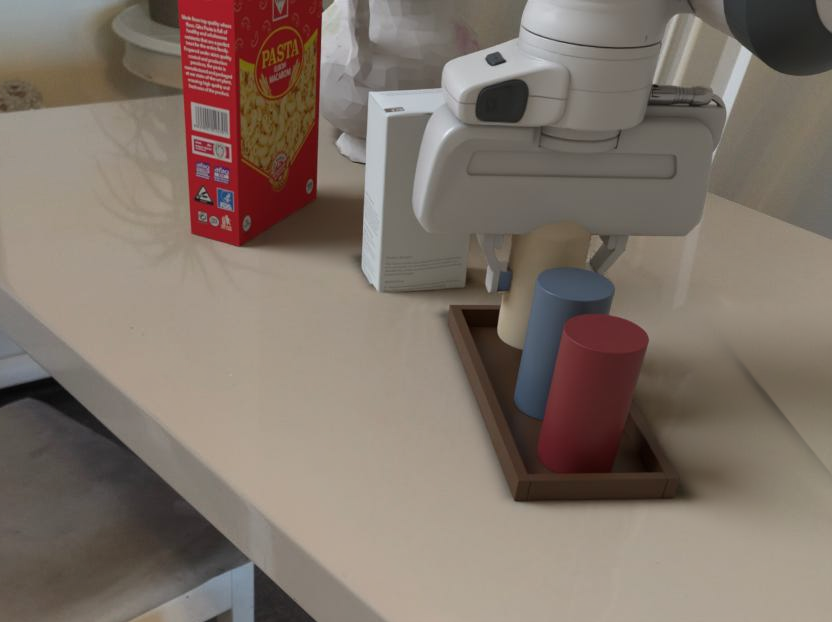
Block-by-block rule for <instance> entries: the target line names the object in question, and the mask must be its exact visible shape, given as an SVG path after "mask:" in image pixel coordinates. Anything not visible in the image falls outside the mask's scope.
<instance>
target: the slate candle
mask: <svg viewBox="0 0 832 622" xmlns="http://www.w3.org/2000/svg"><path fill="white" fill-rule="evenodd" d="M615 291H616V288H615V285H614V283H613V282H612V281H611V280H610V279H609V278H607V277H606V276H605V275H604V276H602V275H600V274H598V273H595V272H592V271H588V270H584V269H579V268H570V267H560V268H552V269H548V270H545V271H543V272H541V273H540V274H539V275H538V277H537V279H536V284H535V290H534V295H533V300H532V305H531V310H530V316H529V321H528V326H527V331H526V336H525V342H524V347H523V352H522V357H521V363H520V368H519V373H518V378H517V383H516V389H515V394H514V402H515V405H516V406H517V408H518V409H519V410H520V411H522V412H523V413H525V414H526V415H528V416H530V417H533V418H536V419H539V420H543V419H544V415H545V410H546V406H547V401H548V396H549V392H550V387H551V383H552V378H553V374H554V369H555V364H556V360H557V355H558V351H559V346H560V342H561V337H562V333H563V328H564V325H565V323H566V322H567V321H568V320H569V319H571V318H573V317H575V316H579V315H584V314H605V315H610V312H611V308H612V304H613V300H614V295H615V293H616V292H615Z"/></svg>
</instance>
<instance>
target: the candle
mask: <svg viewBox="0 0 832 622" xmlns="http://www.w3.org/2000/svg"><path fill="white" fill-rule="evenodd" d="M592 236H593V235H590V233H589V232H588V231H586V230H585V229H584V228H583V227H581V226H580V225H578V224H577V223H574V222H571V221H560V222H556V223H552V224H548V225H545V226H543V227H540V228H538V229H536V230H535V231H533V232H531V233H530V234H511V241H510V248H509V254H508V260H507V262H508V266H509V268H510V269H511V270H512V271H513V274H512V280H511V282H510V283H509V285H510V291H509V293H502V296H501V303H500V305H501V308H500V314H499V320H498V327H497V332H498V336H499V337H500V338H501V340H503V341H504V342H505V343H507V344H508V345H510V346H513V347H515V348H518V349H521V350H523V347H524V342H525V336H526V331H527V326H528V321H529V316H530V310H531V305H532V300H533V295H534V290H535V284H536V279H537V277H538V275H539V274H540V273H541V272H543V271H545V270H548V269H552V268H560V267H570V268H579V269H584V268H585V264H586V262H587V259H588V254H589V250H590V245H591V240H592Z"/></svg>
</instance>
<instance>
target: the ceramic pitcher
mask: <svg viewBox="0 0 832 622" xmlns="http://www.w3.org/2000/svg"><path fill="white" fill-rule="evenodd" d="M481 50H484V49H483V45H482V40H481V37H480V35H479V34H478V32H477V31H476V30H475V29H474V27H473V26H472V25H471V24H470V23H469V22H468V21H467V20H466V18H465V17H464V16H463V15H462V13H461V12H460V11H459V10H458V8H457V6H456V4H455V2H454V0H333V2H332V3H331V4H330V5H329V6H328V7H327V8H326V9H325V10H324V11H322V36H321V68H320V101H319V115H321V116H322V117H323V119H324V120H325V121H327V122H328V123H329V124H330V125H332V127H334V128H336V129H337V130H340V131H342V133H341V134H340V136H339V137H338V139H337V140H336V141H334V144H335V146H336V148H337V150H338V151H339V152H340V154H341V155H343V156H344V157H346V158H347V159H348V160H350V161H351V162H354V163H355V162H357V163H361V164H366V139H367V120H368V98H369V92H381V91H402V90H421V89H436V88H442V86H441V80H442V72H443V68H444V66H445V65H446V64H447V63H448V62H449V61H451V60H453V59H456V58H458V57H462V56H465V55H468V54H471V53H474V52H478V51H481Z"/></svg>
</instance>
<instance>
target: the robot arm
mask: <svg viewBox="0 0 832 622" xmlns="http://www.w3.org/2000/svg"><path fill="white" fill-rule="evenodd" d="M680 14H691V15H693V16H694V17H695V18H698V19H699V20H701V21H702V22H703V23H705V24H706V25H708V26H709V27H711V28H713V29H715V30H717V31H719V32H721V33H723V34H724V35H727V36H729V37H730V38H732V39H734V40H736V41H737V42H738V43H739V44H740V45H741V46H742V47H743V48H745V49H746V50H747V51H748V52H750V53H751V54H752V55H753V56H755V57H756V58H757V59H759V61H761V62H762V63H764V64H765V65H766V66H767V67H768V68H770V69H771V70H773V71H776V72H778V73H780V74H784V75H787V76H793V77H807V76H808V77H809V76H815V75H820V74H823V73H827V72H830V71H831V70H832V0H527V2H526V4H525V5H524V8H523V12H522V15H521V19H520V24H519V25H520V26H519V32H518V37H516V38H513V39H510V40H508V41H505V42H502V43H499V44H496V45H493V46H490V47H487V48H484V49H483V50H481V51H478V52H474V53H471V54H468V55H465V56H462V57H458V58H456V59H453V60H451V61H449V62H448V63H447V64H446V65H445V66H444V68H443V72H442V80H441V86H442V93H443V97H444V99H445V101H446V103H444V104H443V105H441V106H440V107H439V108H438V109H437V110H436V111H435V112H434V113H433V114H432V116H431V118H430V119H429V121H428V124H427V126H426V129H425V132H424V136H423V140H422V144H421V148H420V152H419V157H418V162H417V167H416V173H415V180H414V187H413V197H412V204H413V210H414V213H415V216H416V218H417V220H418V221H419V223H420V224H421V225H422V227H423V228H424V229H425V230H426V231H427V232H428V233H447V234H471V235H476V238H477V242H478V244H479V246H480V248H481V251H482V253H483V256H484V258H485V260H486V263H487V268H486V274H485V288H486V290H487V293H488V294H503V293H509V291H510V285H509V283H510V282H511V280H512V274H513V271H512V270H511V269H510V268H509V266H508V261H500V260H499V259H498V257H497V255H496V252H495V250H494V249H501V248H502V247H503V243H504V237H505V235H513V234H530V233H531V232H533V231H535V230H536V229H538V228H540V227H543V226H545V225H548V224H552V223H556V222H560V221H571V222H574V223H577V224H578V225H580V226H581V227H583V228H584V229H585V230H586V231H588V232H589V233H590V235H592V236H598V237H599V239H600V240H601V242H602V243H601V245H600V246H599V248H598V249H597V250H596V252H595V253H594V254H593V256H592V257H591V258H590V260H589V261H586V264H585V268H584V270H588V271H592V272H595V273H598V274H600V275H602V276H604V277H605V273H607V272H608V270H610V269H611V267H612V266H613V265H614V264H615V263H616V261H617V260H618V259H619V258H620V257H621V256H622V255H623V253H624V252H625V251H626V248H627V244H628V241H629V238H630V237H686V236H687V235H689V234H690V233H691V232H692V231H693V230H694V229H695V228H696V227H697V226H698V225H699V223H700V222H701V220H702V217H703V214H704V209H705V205H706V200H707V195H708V190H709V185H710V179H711V172H712V167H713V165H712V163H713V155H714V152H715V151H716V149H717V148H718V147H719V144H720V142H721V140H722V135H723V132H724V128H725V126H726V122H727V116H728V115H727V107H726V104H725V101H724V100H723V99H722V97H720V96H719V95H718V94H716V93H714V91H713V88H712V87H710V86H704V85H692V86H691V87H690V86H679V85H673V84H657V83H654V78H655V74H656V70H657V65H658V62H659V58H660V53H661V49H662V46H663V45H662V44H663V43H662V42H663V39H664V36H665V33H666V28H667V26H668V24H669V22H670V20H671V19H672V18H673V17H675V16H676V15H680ZM711 102H713V103H714V104H712V103H711Z"/></svg>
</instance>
